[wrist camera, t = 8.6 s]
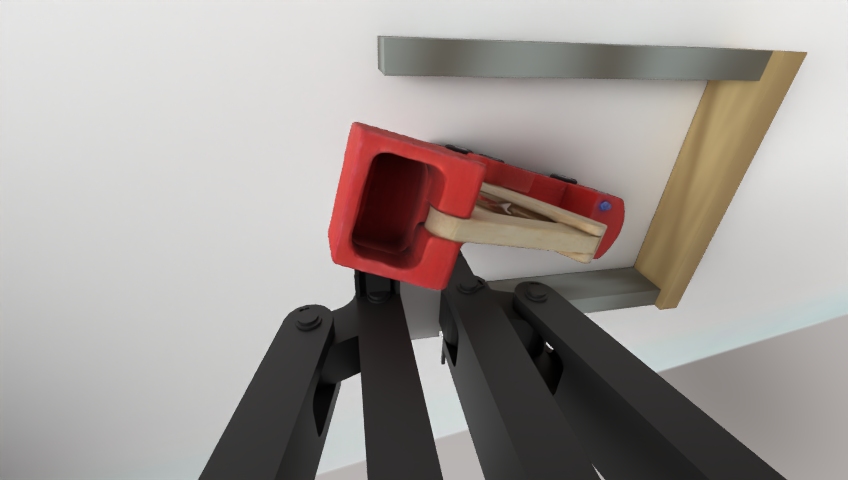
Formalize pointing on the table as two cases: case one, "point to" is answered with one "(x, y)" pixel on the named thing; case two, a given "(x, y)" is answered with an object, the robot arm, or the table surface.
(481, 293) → the robot arm
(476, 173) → the toy fire truck
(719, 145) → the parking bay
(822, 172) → the table surface
